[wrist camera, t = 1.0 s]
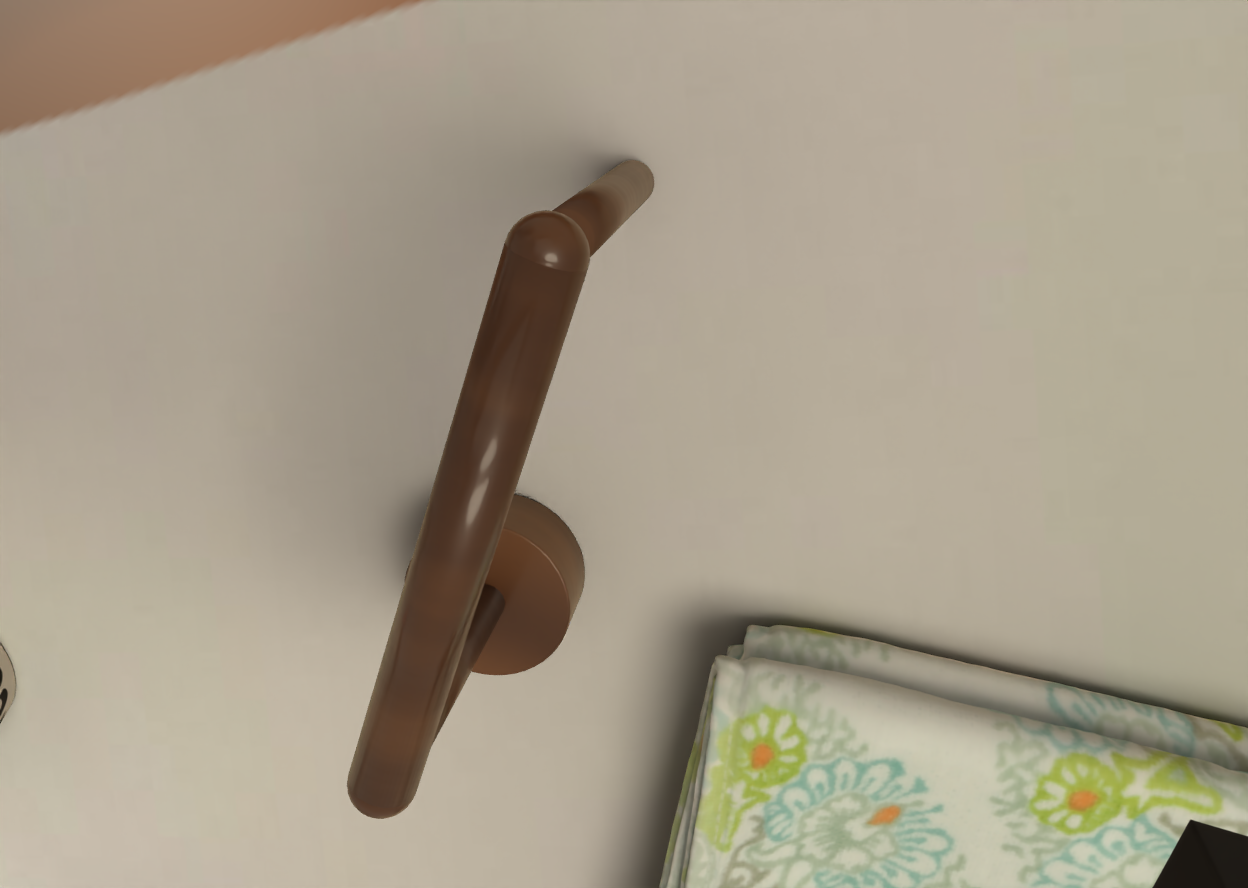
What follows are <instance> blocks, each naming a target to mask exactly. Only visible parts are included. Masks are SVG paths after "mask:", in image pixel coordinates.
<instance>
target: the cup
mask: <svg viewBox="0 0 1248 888" xmlns="http://www.w3.org/2000/svg"><path fill="white" fill-rule="evenodd" d="M15 687H16V683H15V675H14V671H13V667H12V665H11V662H10V660H9V658H8V656H7V654H6V652H5V651H4V649H3V647H2V646H1V645H0V723H1V722H2V720H3V718H4V716H5V715H6V713H7V711H8V709H9V708H10V706H11V704H12V702H13V699H14V695H15Z"/></svg>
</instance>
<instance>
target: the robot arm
mask: <svg viewBox="0 0 1248 888" xmlns="http://www.w3.org/2000/svg"><path fill="white" fill-rule="evenodd" d="M1153 888H1248V836H1245V835H1242V834H1239V833H1235V832H1232V831H1228V830H1225V829H1222V828H1218V827H1215V826H1211V825H1208V824H1204V823H1201V822H1198V821H1194V820H1191V819H1190V821H1189V823H1188V824H1187V826H1186V828H1185V830H1184V832H1183V833H1182V835H1181V837H1180V839H1179V841H1178V842H1177V844H1176V846H1175V848H1174V850H1173V851H1172V853H1171V855H1170V857H1169V859H1168V860H1167V862H1166V864H1165V866H1164V868H1163V869H1162V871H1161V873H1160V875H1159V877H1158V879H1157V880H1156V882H1155V884H1154V886H1153Z"/></svg>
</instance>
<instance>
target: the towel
mask: <svg viewBox="0 0 1248 888" xmlns="http://www.w3.org/2000/svg"><path fill="white" fill-rule="evenodd" d="M1190 819H1191V820H1194V821H1198V822H1201V823H1204V824H1208V825H1211V826H1215V827H1218V828H1222V829H1225V830H1228V831H1232V832H1235V833H1239V834H1242V835H1245V836H1248V728H1246V727H1242V726H1237V725H1233V724H1230V723H1226V722H1221V721H1216V720H1210V719H1205V718H1200V717H1196V716H1193V715H1188V714H1184V713H1180V712H1177V711H1172V710H1169V709H1166V708H1162V707H1157V706H1151V705H1148V704H1143V703H1137V702H1133V701H1130V700H1127V699H1121V698H1118V697H1114V696H1109V695H1106V694H1102V693H1097V692H1091V691H1087V690H1083V689H1079V688H1077V687H1072V686H1067V685H1063V684H1060V683H1055V682H1050V681H1045V680H1040V679H1036V678H1032V677H1027V676H1023V675H1018V674H1013V673H1008V672H1004V671H999V670H995V669H992V668H988V667H984V666H979V665H974V664H968V663H964V662H960V661H957V660H953V659H948V658H943V657H938V656H934V655H930V654H926V653H922V652H918V651H914V650H909V649H904V648H900V647H896V646H893V645H890V644H886V643H883V642H878V641H873V640H870V639H866V638H859V637H852V636H845V635H841V634H836V633H831V632H827V631H821V630H816V629H811V628H800V627H794V626H785V625H775V626H772V627H764V626H758V625H749V626H748V627H747V632H746V636H745V640H744V644H743V645H732V646H729V647H728V650H727V654H726V656H725V655H718V656H716V658H715V662H714V663H713V664H712V667H711V671H710V675H709V680H708V685H707V690H706V694H705V699H704V703H703V706H702V710H701V713H700V719H699V724H698V730H697V734H696V737H695V740H694V744H693V748H692V752H691V755H690V758H689V760H688V766H687V770H686V774H685V778H684V781H683V786H682V792H681V795H680V799H679V805H678V808H677V810H676V815H675V818H674V822H673V826H672V830H671V836H670V841H669V845H668V849H667V854H666V858H665V863H664V867H663V872H662V877H661V881H660V885H659V888H1153V886H1154V884H1155V882H1156V880H1157V879H1158V877H1159V875H1160V873H1161V871H1162V869H1163V868H1164V866H1165V864H1166V862H1167V860H1168V859H1169V857H1170V855H1171V853H1172V851H1173V850H1174V848H1175V846H1176V844H1177V842H1178V841H1179V839H1180V837H1181V835H1182V833H1183V832H1184V830H1185V828H1186V826H1187V824H1188V823H1189V821H1190Z"/></svg>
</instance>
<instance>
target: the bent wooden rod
mask: <svg viewBox="0 0 1248 888" xmlns="http://www.w3.org/2000/svg"><path fill="white" fill-rule="evenodd" d="M653 188H654V177H653V174H652V172H651V170H650V169H649V168H648V166H647V165H645V164H644V163H642V162H640V161H636V160H628V161H625V162H622V163H621V164H619V165H618V166H616V167H615V168H613V169H612V170H610V171H609V172H608V173H606V174H605V175H603V176H602V177H600V178H599V179H597V180H596V181H594V182H593V183H592V184H590V185H589V186H587V187H586V188H584V189H583V190H581V191H580V192H579V193H577V194H576V195H574V196H573V197H571V198H570V199H568V200H567V201H565V202H564V203H563V204H561V205H560V206H558V207H557V208H555V209H554V210H552V211H547V210H545V211H537V212H534V213H531V214H528V215H526V216H525V217H523V218H521V219H520V220H519V221H518V222H517V223H516V224H515V225H514V226H513V227H512V229H511V230H510V232H509V233H508V235H507V238H506V240H505V244H504V247H503V250H502V254H501V257H500V261H499V264H498V267H497V271H496V274H495V278H494V281H493V284H492V288H491V291H490V295H489V298H488V301H487V305H486V308H485V312H484V315H483V318H482V322H481V325H480V329H479V332H478V335H477V339H476V342H475V346H474V349H473V352H472V356H471V359H470V363H469V366H468V369H467V373H466V376H465V380H464V383H463V386H462V390H461V393H460V397H459V400H458V403H457V407H456V410H455V414H454V417H453V421H452V424H451V427H450V431H449V434H448V438H447V441H446V444H445V448H444V451H443V455H442V458H441V461H440V465H439V468H438V472H437V475H436V478H435V482H434V485H433V489H432V492H431V495H430V499H429V502H428V506H427V509H426V512H425V516H424V519H423V523H422V526H421V529H420V533H419V536H418V540H417V543H416V546H415V550H414V553H413V557H412V559H411V561H410V563H409V566H408V568H407V572H406V576H405V584H404V587H403V591H402V594H401V598H400V601H399V604H398V608H397V611H396V615H395V618H394V621H393V625H392V628H391V632H390V635H389V638H388V642H387V645H386V649H385V652H384V655H383V659H382V662H381V666H380V669H379V672H378V676H377V679H376V683H375V686H374V689H373V693H372V696H371V700H370V703H369V706H368V710H367V713H366V717H365V720H364V723H363V727H362V730H361V734H360V737H359V740H358V744H357V747H356V751H355V754H354V757H353V761H352V764H351V768H350V771H349V774H348V781H347V788H348V795H349V797H350V800H351V802H352V803H353V805H354V806H355V807H356V808H357V809H358V810H359V811H360V812H361V813H362V814H364V815H366V816H368V817H371V818H377V819H384V818H389V817H392V816H395V815H397V814H399V813H400V812H402V811H403V810H404V809H406V808H407V807H408V805H409V804H410V803H411V801H412V800H413V798H414V796H415V794H416V791H417V788H418V785H419V782H420V779H421V776H422V773H423V770H424V767H425V764H426V761H427V758H428V755H429V752H430V749H431V746H432V744H433V742H434V740H435V739H436V737H437V735H438V733H439V731H440V729H441V727H442V725H443V724H444V722H445V720H446V718H447V716H448V714H449V712H450V710H451V709H452V707H453V705H454V703H455V701H456V699H457V697H458V695H459V693H460V692H461V690H462V688H463V686H464V684H465V682H466V680H467V678H468V677H469V675H470V673H471V671H472V672H476V673H481V674H488V675H508V674H515V673H518V672H522V671H525V670H528V669H530V668H532V667H535V666H536V665H538V664H540V663H541V662H543V661H544V660H545V659H547V658H548V657H549V656H550V655H551V654H552V653H553V652H554V651H555V650H556V649H557V648H558V646H559V645H560V643H561V641H562V640H563V638H564V636H565V633H566V631H567V629H568V626H569V624H570V621H571V619H572V616H573V614H574V612H575V609H576V607H577V604H578V602H579V599H580V597H581V594H582V590H583V587H584V579H585V567H584V561H583V556H582V553H581V550H580V547H579V545H578V543H577V541H576V539H575V537H574V536H573V534H572V532H571V531H570V529H569V528H568V527H567V526H566V524H565V523H564V522H563V521H562V520H561V519H560V518H559V517H558V516H557V515H556V514H554V513H553V512H552V511H550V510H549V509H548V508H546V507H545V506H543V505H541V504H540V503H538V502H535V501H533V500H531V499H529V498H526V497H522V496H519V495H514V493H515V490H516V486H517V483H518V480H519V477H520V474H521V471H522V468H523V465H524V462H525V459H526V456H527V453H528V450H529V447H530V444H531V441H532V438H533V435H534V432H535V429H536V426H537V422H538V419H539V416H540V413H541V410H542V407H543V404H544V401H545V398H546V395H547V392H548V389H549V386H550V383H551V380H552V377H553V374H554V371H555V368H556V365H557V361H558V358H559V355H560V352H561V349H562V346H563V343H564V340H565V337H566V334H567V331H568V328H569V325H570V322H571V319H572V316H573V313H574V310H575V307H576V304H577V301H578V297H579V294H580V291H581V288H582V285H583V282H584V279H585V276H586V273H587V270H588V266H589V261H590V257H591V256H592V255H593V254H594V253H595V252H596V251H597V250H598V249H599V248H600V247H601V246H602V245H603V244H604V243H605V242H606V241H607V240H608V239H609V238H610V237H611V236H612V235H613V234H614V233H615V231H616V230H617V229H618V228H619V227H620V226H621V225H622V224H623V223H624V222H625V221H626V220H627V219H628V218H629V217H630V216H631V215H632V214H633V213H634V212H635V211H636V210H637V209H638V208H639V207H640V206H641V205H642V204H643V203H644V202H645V201H646V200H647V199H648V198H649V197H650V195H651V193H652V191H653Z"/></svg>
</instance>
